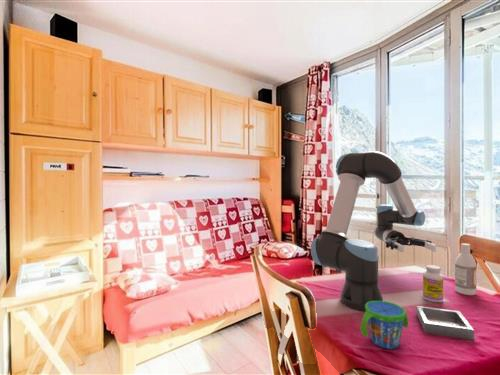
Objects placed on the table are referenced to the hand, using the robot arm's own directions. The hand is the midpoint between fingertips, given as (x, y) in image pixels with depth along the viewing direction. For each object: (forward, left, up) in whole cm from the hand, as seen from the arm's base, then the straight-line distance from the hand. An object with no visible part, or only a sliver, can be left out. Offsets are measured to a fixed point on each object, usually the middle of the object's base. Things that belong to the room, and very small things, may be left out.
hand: (418, 248), depth 118 cm
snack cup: (-17, -47, -18) cm, 53 cm away
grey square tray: (+1, -31, -17) cm, 36 cm away
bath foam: (+17, +3, -18) cm, 25 cm away
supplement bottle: (+3, -9, -18) cm, 20 cm away
